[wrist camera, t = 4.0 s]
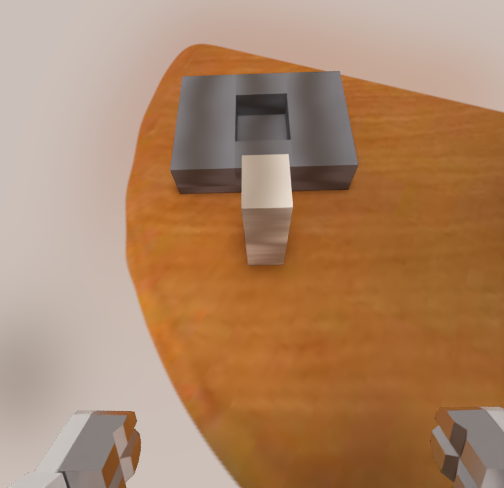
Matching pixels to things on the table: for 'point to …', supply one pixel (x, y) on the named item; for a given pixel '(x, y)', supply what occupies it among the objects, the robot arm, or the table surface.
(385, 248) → the table surface
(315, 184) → the slot holder
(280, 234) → the peg
